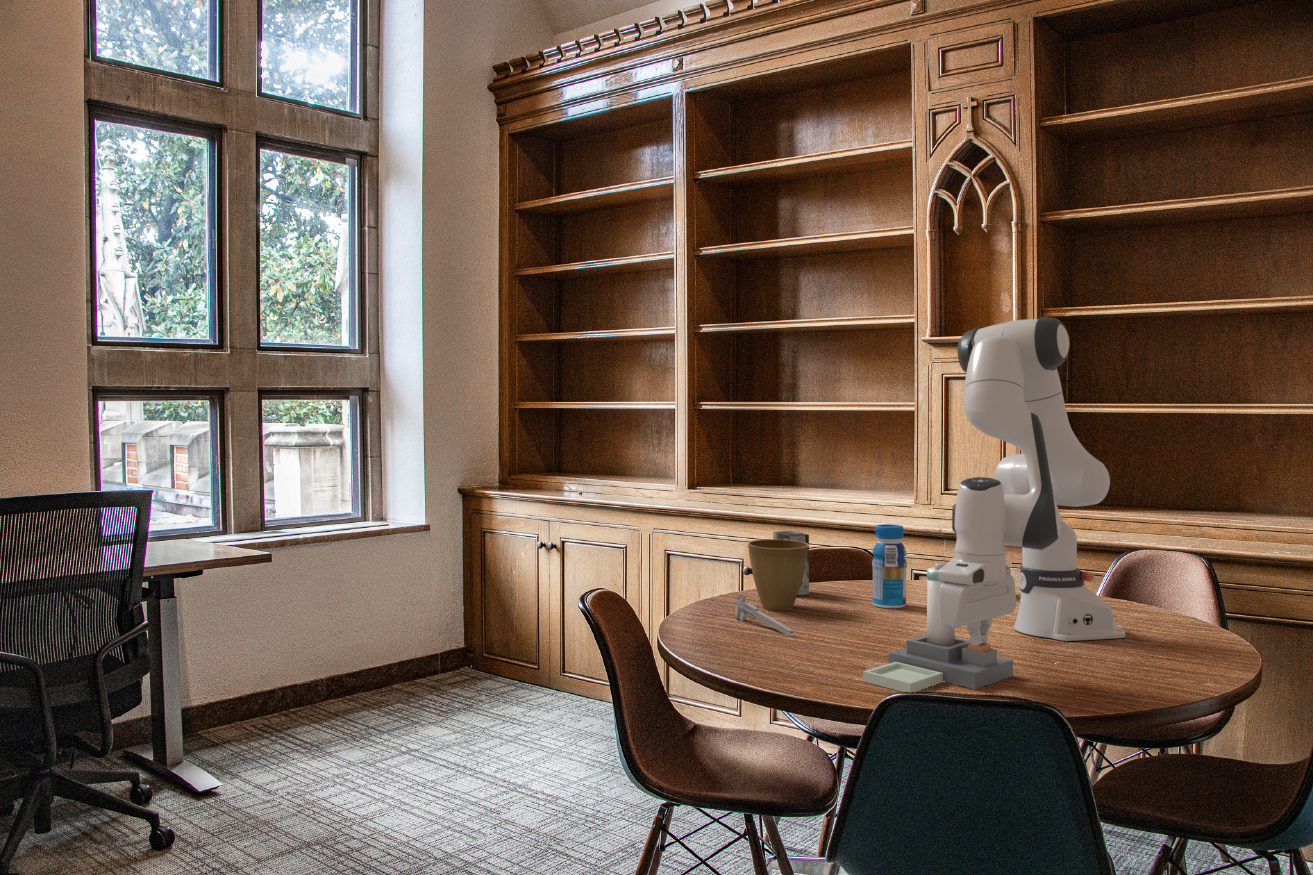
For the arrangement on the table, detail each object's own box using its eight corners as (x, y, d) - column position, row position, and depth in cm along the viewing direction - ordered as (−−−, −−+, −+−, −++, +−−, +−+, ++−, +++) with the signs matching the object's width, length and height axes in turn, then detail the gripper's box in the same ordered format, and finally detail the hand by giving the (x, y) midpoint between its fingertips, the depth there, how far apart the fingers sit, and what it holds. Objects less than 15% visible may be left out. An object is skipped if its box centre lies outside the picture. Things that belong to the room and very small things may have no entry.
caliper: (734, 620, 222) (734, 593, 222) (738, 620, 223) (738, 593, 223) (793, 638, 205) (793, 609, 205) (796, 637, 206) (797, 608, 206)
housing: (928, 656, 189) (928, 629, 188) (1013, 676, 175) (1013, 646, 175) (888, 668, 180) (888, 639, 180) (974, 689, 166) (975, 658, 166)
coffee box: (810, 594, 251) (810, 534, 251) (789, 596, 249) (789, 535, 248) (792, 588, 260) (792, 530, 259) (771, 590, 257) (771, 531, 257)
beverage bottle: (865, 605, 238) (865, 525, 237) (884, 600, 244) (885, 522, 243) (894, 610, 232) (894, 528, 231) (913, 605, 237) (913, 525, 237)
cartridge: (950, 650, 182) (950, 561, 181) (958, 657, 176) (959, 566, 176) (922, 650, 182) (923, 561, 181) (930, 657, 176) (931, 566, 176)
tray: (895, 671, 178) (895, 661, 178) (942, 682, 171) (942, 672, 171) (862, 681, 172) (862, 671, 172) (910, 693, 164) (910, 683, 164)
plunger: (976, 657, 175) (976, 641, 175) (990, 660, 173) (990, 644, 173) (968, 660, 173) (968, 643, 173) (982, 663, 171) (982, 646, 171)
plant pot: (737, 609, 233) (737, 544, 232) (763, 599, 245) (763, 537, 245) (794, 616, 225) (794, 549, 225) (817, 605, 238) (818, 541, 237)
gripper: (994, 560, 182) (993, 632, 182) (932, 571, 168) (932, 649, 169) (1025, 564, 177) (1024, 638, 177) (964, 576, 163) (963, 656, 164)
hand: (978, 643), depth 173 cm, fingers closed, pressing on plunger
